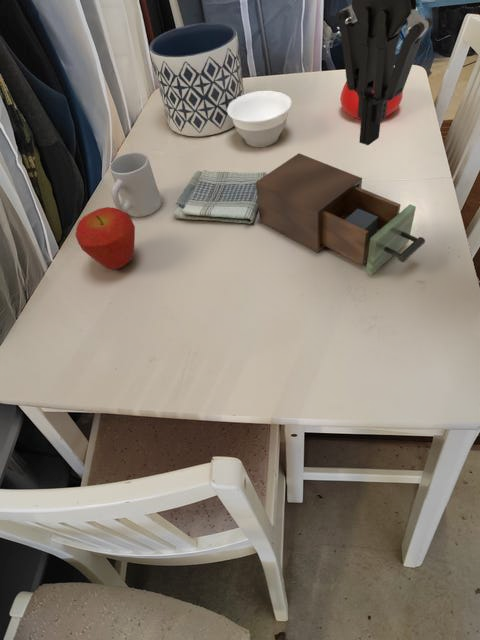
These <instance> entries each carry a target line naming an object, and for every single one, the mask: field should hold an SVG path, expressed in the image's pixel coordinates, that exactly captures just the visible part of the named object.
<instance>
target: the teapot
mask: <svg viewBox="0 0 480 640" xmlns="http://www.w3.org/2000/svg"><path fill="white" fill-rule="evenodd" d="M372 93H374V90H373V91H372ZM403 94H404V90H403V91H402V93H400V94H399V95H398V96H396V97H395V98H393V99H392V100H390V101H388V104H387V112H386V117H388V116H389V115H391V114H393V112H395V111H396V110H397V109H398V108H399V107H400V104H401V102H402V100H403ZM358 103H359V96H358V95H357V92H355V91H354V90H352V91H351V90H349V89H348V87H347V80H346V81H345V83H344V85H343V87H342V90H341V93H340V104H341V109H342V110H343V111H344V112H345V113H346V114H348V115H349V116H350V117H352V118H355V119H357V120H361V118H358Z"/></svg>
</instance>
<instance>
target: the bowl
mask: <svg viewBox="0 0 480 640" xmlns="http://www.w3.org/2000/svg"><path fill="white" fill-rule="evenodd" d="M292 104H293V103H292V99H291V97H289V95H288V94H286V93H284V92H280V91H276V90H258V91H252V92H248V93H244V95H242V96H240V97H238V98H236V99H235V100H233V101H232V102H231V103H230V104H229V106H228V108H227V113H228V115H229V116H230V117H231V118H233V123H234V125H235V126H234V127H235V130H236V131H237V133H238V134H239V135H240V136H241V137H242V138H243V139H244V140H245V143H246V144H247V145H248V146H250V147H254V148H263V147H268V146H271V145H273V144H275V143H276V142H278V141H279V138H280V134H281V133H282V132H283V130H284V128H285V126H286V124H287V119H288V114H289V111H290V109H291V108H292Z"/></svg>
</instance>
